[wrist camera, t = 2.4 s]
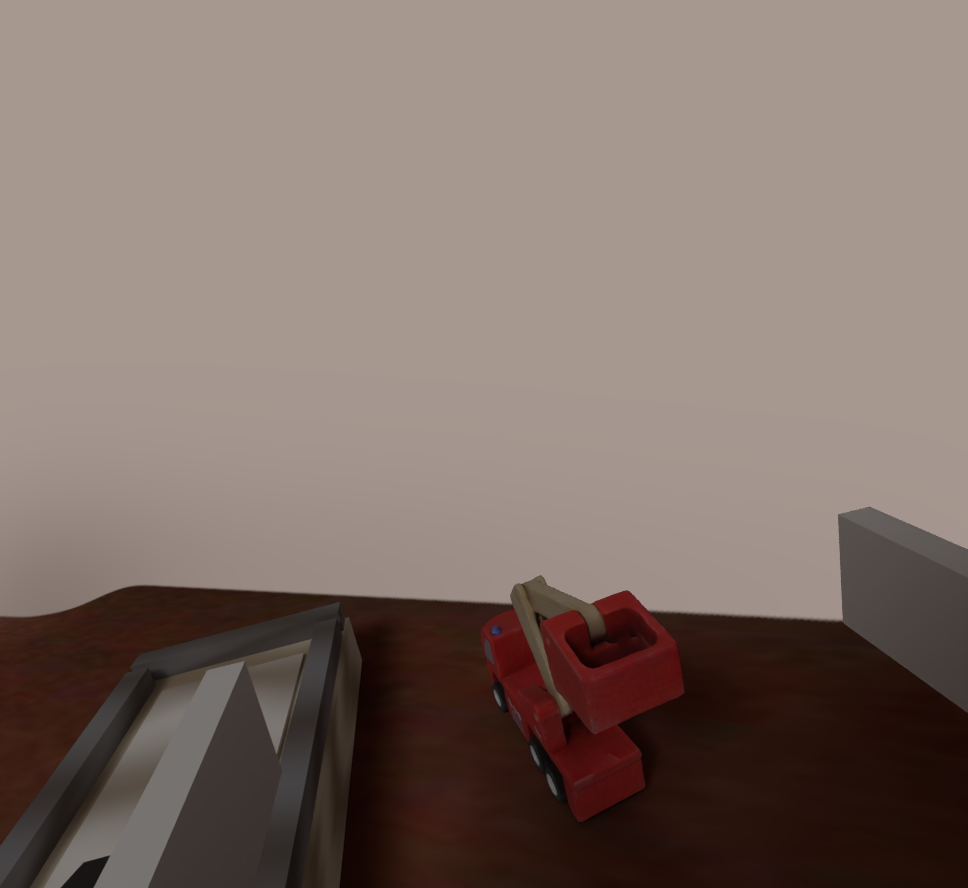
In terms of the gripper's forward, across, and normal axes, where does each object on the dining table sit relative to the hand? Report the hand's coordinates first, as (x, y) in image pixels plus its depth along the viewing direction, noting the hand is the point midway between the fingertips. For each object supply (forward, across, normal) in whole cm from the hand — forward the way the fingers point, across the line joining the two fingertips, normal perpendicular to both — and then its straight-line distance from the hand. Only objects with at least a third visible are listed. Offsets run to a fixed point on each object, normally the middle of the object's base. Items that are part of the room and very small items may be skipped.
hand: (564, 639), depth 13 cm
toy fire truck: (+10, +1, -13) cm, 16 cm away
